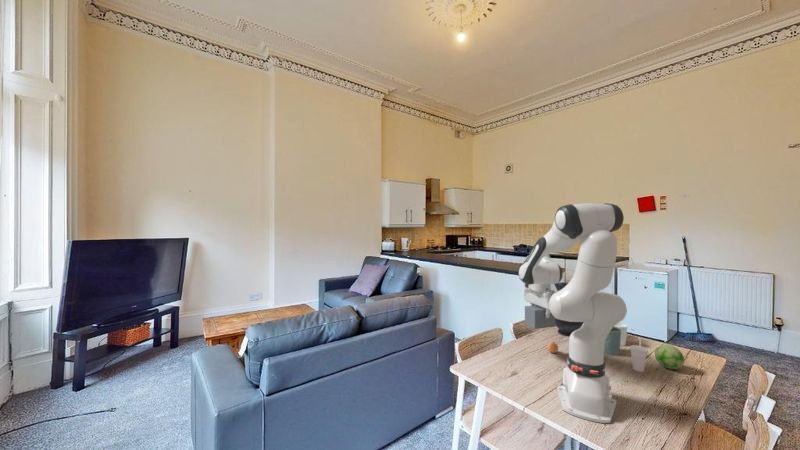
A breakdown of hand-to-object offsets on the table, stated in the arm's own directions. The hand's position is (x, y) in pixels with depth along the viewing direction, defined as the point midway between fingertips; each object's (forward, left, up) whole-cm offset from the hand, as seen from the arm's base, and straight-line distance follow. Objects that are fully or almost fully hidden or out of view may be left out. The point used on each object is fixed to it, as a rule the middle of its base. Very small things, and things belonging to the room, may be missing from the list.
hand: (540, 314), depth 152 cm
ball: (+5, -5, -17) cm, 18 cm away
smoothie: (+5, -39, -20) cm, 44 cm away
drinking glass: (+21, -29, -20) cm, 41 cm away
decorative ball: (+14, -51, -20) cm, 56 cm away
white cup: (+36, -34, -20) cm, 53 cm away
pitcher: (+38, -12, -20) cm, 44 cm away
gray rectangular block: (0, 0, -5) cm, 5 cm away
